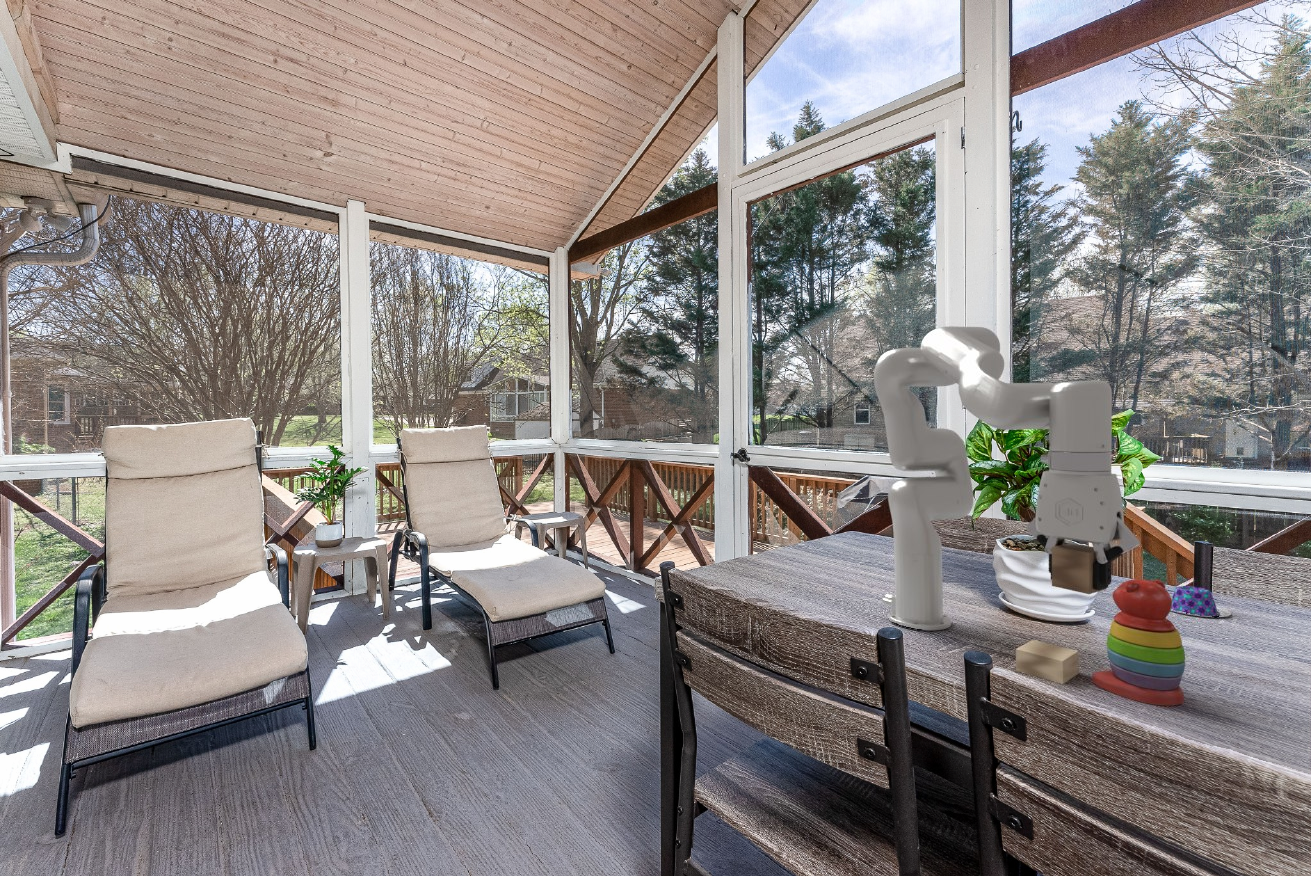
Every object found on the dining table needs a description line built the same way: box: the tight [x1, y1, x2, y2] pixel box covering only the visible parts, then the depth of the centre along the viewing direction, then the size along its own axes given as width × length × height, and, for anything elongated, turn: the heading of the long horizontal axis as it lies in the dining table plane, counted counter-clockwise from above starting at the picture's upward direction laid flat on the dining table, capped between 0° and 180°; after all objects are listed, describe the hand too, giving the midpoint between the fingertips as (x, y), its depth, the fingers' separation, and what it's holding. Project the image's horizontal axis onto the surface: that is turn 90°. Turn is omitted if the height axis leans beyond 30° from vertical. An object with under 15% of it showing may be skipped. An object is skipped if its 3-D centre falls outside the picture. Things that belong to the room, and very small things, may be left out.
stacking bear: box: [1091, 578, 1186, 707], centre depth 90 cm, size 11×10×18 cm
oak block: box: [1015, 639, 1080, 685], centre depth 99 cm, size 7×7×4 cm
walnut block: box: [1051, 542, 1107, 595], centre depth 87 cm, size 5×5×6 cm
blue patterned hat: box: [1170, 585, 1232, 618], centre depth 130 cm, size 12×12×5 cm
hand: (1078, 582), depth 87 cm, fingers closed on walnut block, 5 cm apart
